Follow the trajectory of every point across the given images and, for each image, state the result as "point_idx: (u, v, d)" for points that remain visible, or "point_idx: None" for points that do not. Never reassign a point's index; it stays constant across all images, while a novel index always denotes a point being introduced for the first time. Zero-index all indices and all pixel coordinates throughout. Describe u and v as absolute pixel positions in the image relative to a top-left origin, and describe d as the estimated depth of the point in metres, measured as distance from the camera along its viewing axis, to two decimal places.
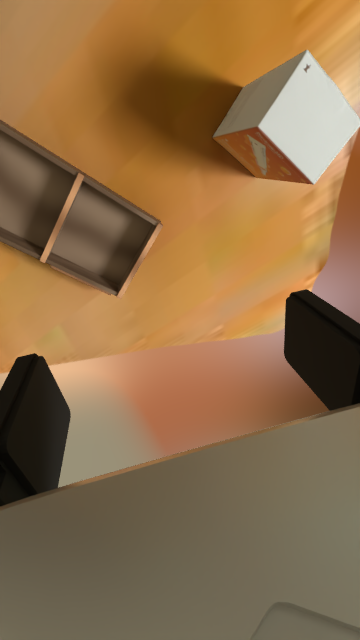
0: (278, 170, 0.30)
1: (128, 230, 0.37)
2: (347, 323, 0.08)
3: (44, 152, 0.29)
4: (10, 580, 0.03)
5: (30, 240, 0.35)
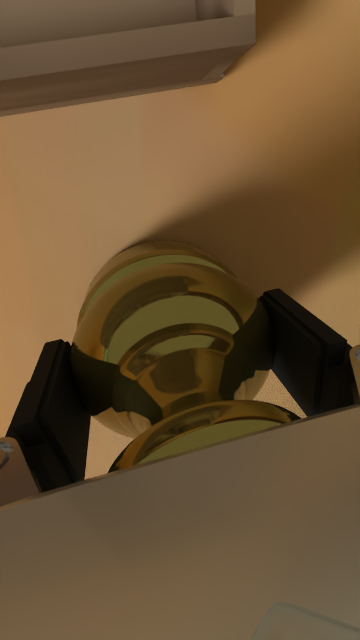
0: None
1: None
2: (310, 320, 0.09)
3: None
4: (10, 580, 0.03)
5: None
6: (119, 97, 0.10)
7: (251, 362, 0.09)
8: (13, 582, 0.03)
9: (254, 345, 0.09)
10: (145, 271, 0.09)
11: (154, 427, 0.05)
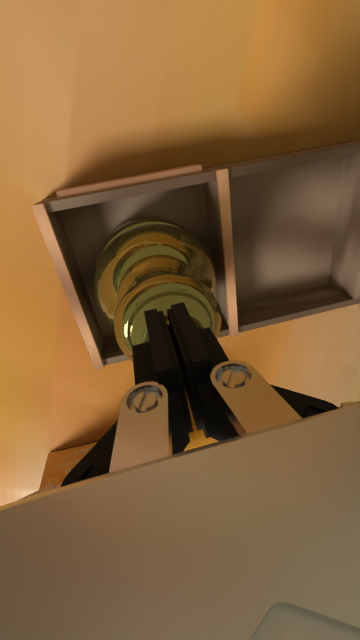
0: None
1: None
2: (191, 336, 0.09)
3: (282, 320, 0.22)
4: (10, 580, 0.03)
5: None
6: None
7: (196, 279, 0.16)
8: (13, 582, 0.03)
9: (199, 272, 0.16)
10: (136, 226, 0.15)
11: (138, 282, 0.12)
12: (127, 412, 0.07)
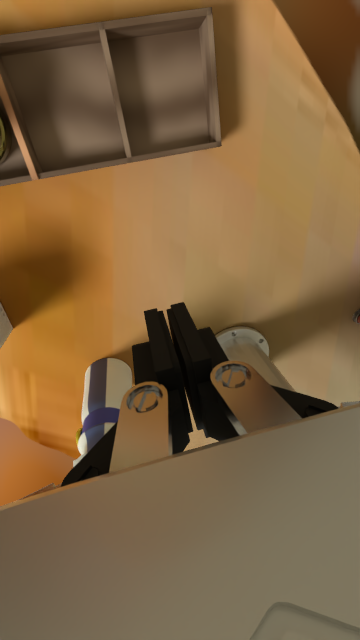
0: None
1: None
2: (191, 336, 0.09)
3: (73, 171, 0.30)
4: (10, 580, 0.03)
5: (25, 54, 0.27)
6: None
7: None
8: (13, 582, 0.03)
9: None
10: None
11: None
12: (127, 412, 0.07)
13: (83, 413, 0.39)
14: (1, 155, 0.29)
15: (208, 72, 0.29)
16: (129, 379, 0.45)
